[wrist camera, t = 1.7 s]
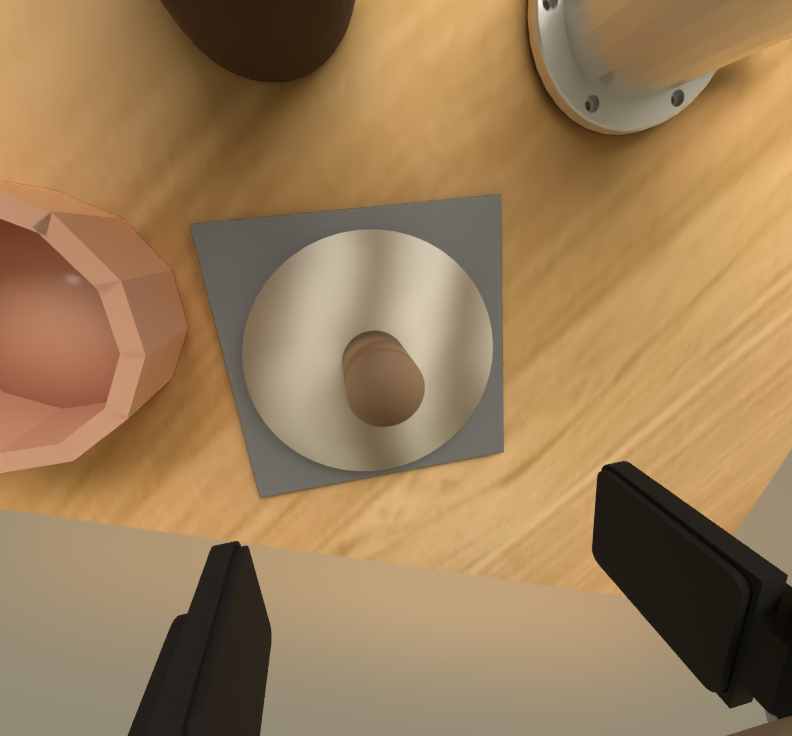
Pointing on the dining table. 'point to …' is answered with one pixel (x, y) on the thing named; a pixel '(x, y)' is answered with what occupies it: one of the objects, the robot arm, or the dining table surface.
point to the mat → (288, 234)
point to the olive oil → (264, 33)
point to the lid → (367, 350)
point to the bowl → (77, 325)
